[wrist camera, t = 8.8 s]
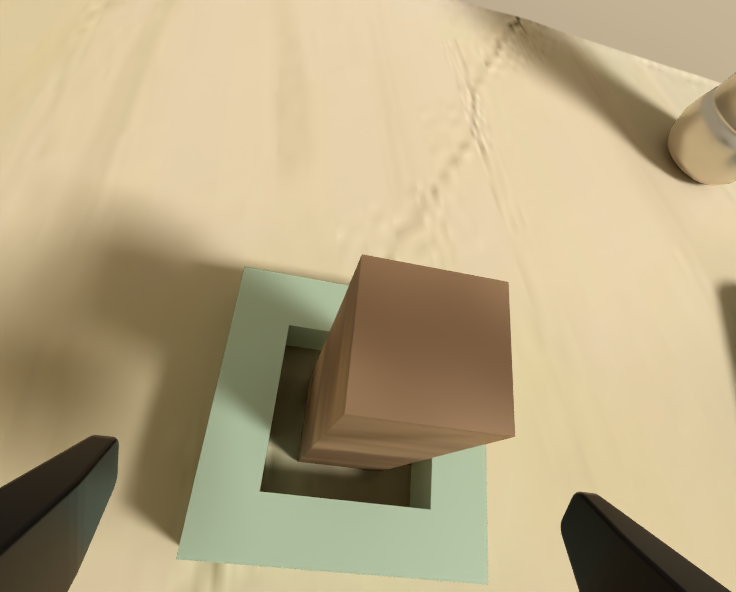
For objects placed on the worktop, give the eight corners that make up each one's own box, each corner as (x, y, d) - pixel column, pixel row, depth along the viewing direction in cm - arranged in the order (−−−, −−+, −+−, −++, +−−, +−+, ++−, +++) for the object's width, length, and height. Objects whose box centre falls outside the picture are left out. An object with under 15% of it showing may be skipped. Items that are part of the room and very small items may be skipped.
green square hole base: (458, 574, 21) (488, 584, 19) (187, 551, 19) (176, 559, 17) (460, 329, 26) (484, 309, 24) (245, 292, 24) (244, 266, 22)
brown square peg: (380, 471, 22) (515, 436, 11) (297, 461, 22) (344, 414, 10) (386, 388, 24) (508, 282, 12) (309, 377, 23) (362, 254, 12)
